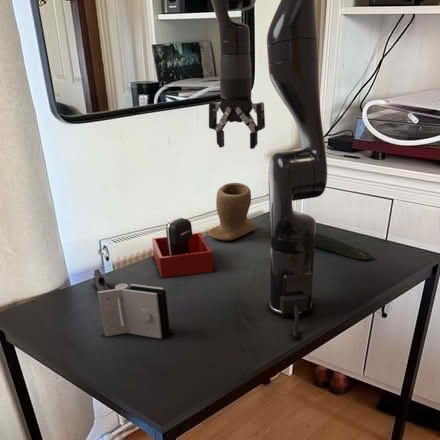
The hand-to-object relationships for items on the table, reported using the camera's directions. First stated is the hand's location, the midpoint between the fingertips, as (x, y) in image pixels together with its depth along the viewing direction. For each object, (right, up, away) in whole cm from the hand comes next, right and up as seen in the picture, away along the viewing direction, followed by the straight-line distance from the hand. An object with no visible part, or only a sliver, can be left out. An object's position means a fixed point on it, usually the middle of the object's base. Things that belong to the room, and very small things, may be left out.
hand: (237, 147), depth 144 cm
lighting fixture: (-31, -40, -9) cm, 52 cm away
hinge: (-22, -50, -24) cm, 60 cm away
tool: (+25, -23, +12) cm, 36 cm away
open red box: (-14, -28, +7) cm, 33 cm away
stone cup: (0, -16, +24) cm, 29 cm away
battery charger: (-14, -28, +7) cm, 32 cm away
